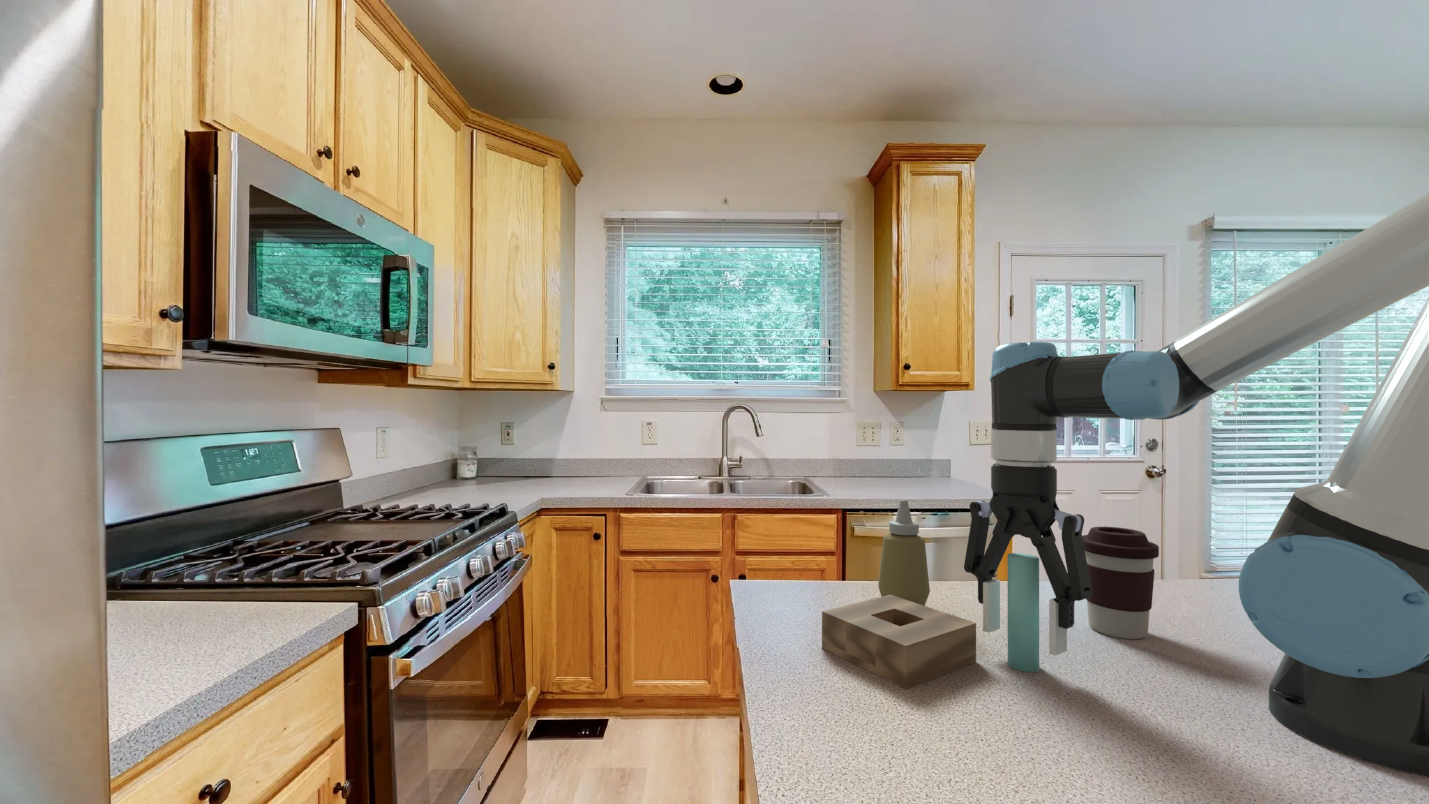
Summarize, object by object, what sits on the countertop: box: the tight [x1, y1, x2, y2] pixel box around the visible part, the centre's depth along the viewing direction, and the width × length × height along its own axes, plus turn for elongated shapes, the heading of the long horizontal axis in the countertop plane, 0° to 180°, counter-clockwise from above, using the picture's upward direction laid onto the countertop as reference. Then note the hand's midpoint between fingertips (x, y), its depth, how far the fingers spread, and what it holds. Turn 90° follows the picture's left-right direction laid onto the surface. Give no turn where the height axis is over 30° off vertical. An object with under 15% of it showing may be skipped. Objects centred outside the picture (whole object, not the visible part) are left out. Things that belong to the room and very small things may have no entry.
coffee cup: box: [1082, 526, 1160, 640], centre depth 88 cm, size 10×10×15 cm
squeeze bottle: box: [878, 499, 931, 606], centre depth 96 cm, size 8×8×18 cm
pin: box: [1007, 552, 1040, 673], centre depth 75 cm, size 4×4×14 cm
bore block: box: [821, 595, 977, 690], centre depth 78 cm, size 14×14×5 cm
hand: (1023, 640), depth 75 cm, fingers open, 8 cm apart
